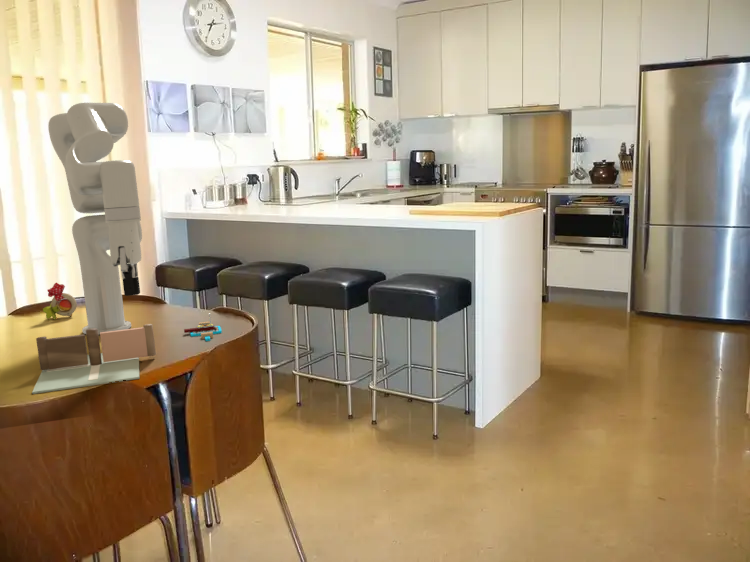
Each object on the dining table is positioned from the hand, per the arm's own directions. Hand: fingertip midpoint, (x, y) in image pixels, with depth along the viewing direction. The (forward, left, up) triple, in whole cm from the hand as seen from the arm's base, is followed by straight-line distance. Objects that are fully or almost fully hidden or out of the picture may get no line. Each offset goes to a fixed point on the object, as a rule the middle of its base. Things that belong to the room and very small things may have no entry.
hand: (132, 294), depth 154 cm
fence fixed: (+5, -14, -14) cm, 21 cm away
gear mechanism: (-15, +16, -15) cm, 27 cm away
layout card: (+8, -10, -14) cm, 19 cm away
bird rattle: (-60, -22, -15) cm, 65 cm away
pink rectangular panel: (+5, -2, -14) cm, 15 cm away
